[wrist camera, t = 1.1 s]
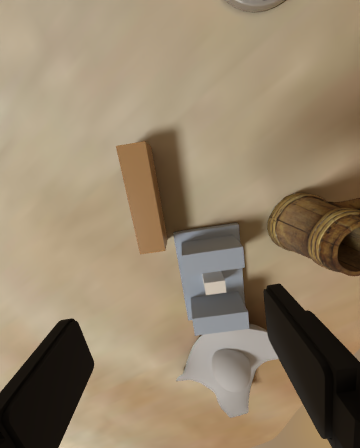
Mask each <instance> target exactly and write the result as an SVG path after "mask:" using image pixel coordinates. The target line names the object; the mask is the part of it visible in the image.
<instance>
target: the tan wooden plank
mask: <svg viewBox="0 0 360 448" xmlns="http://www.w3.org/2000/svg"><path fill="white" fill-rule="evenodd" d="M116 148H117V153H118V157H119V162H120V166H121V171H122V175H123V180H124V184H125V189H126V193H127V197H128V202H129V206H130V211H131V215H132V220H133V224H134V229H135V233H136V238H137V242H138V247H139V251H140V254H146V253H153V252H160V251H165V250H166V245H167V240H168V238H167V233H166V227H165V221H164V216H163V210H162V205H161V199H160V193H159V188H158V182H157V176H156V171H155V165H154V160H153V154H152V148H151V146H150V145H149V144H148V143H146V142H145V141H144V142H138V143H132V144H126V145H120V146H116Z"/></svg>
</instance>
